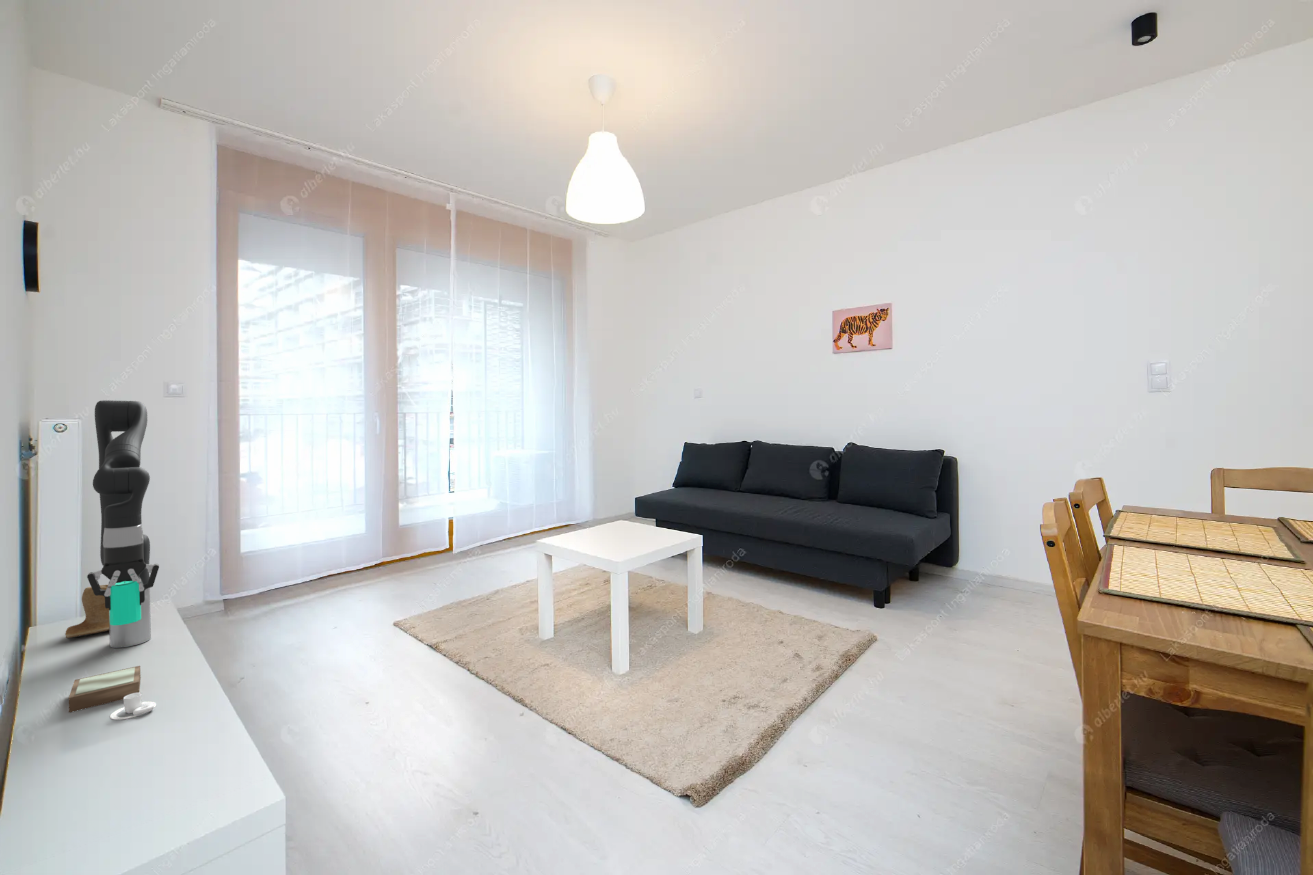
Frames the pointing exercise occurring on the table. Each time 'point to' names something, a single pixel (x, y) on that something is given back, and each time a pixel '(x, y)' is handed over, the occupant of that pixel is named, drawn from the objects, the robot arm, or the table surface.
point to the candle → (125, 603)
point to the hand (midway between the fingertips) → (125, 606)
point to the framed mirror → (104, 688)
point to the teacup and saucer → (133, 706)
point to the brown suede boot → (91, 615)
